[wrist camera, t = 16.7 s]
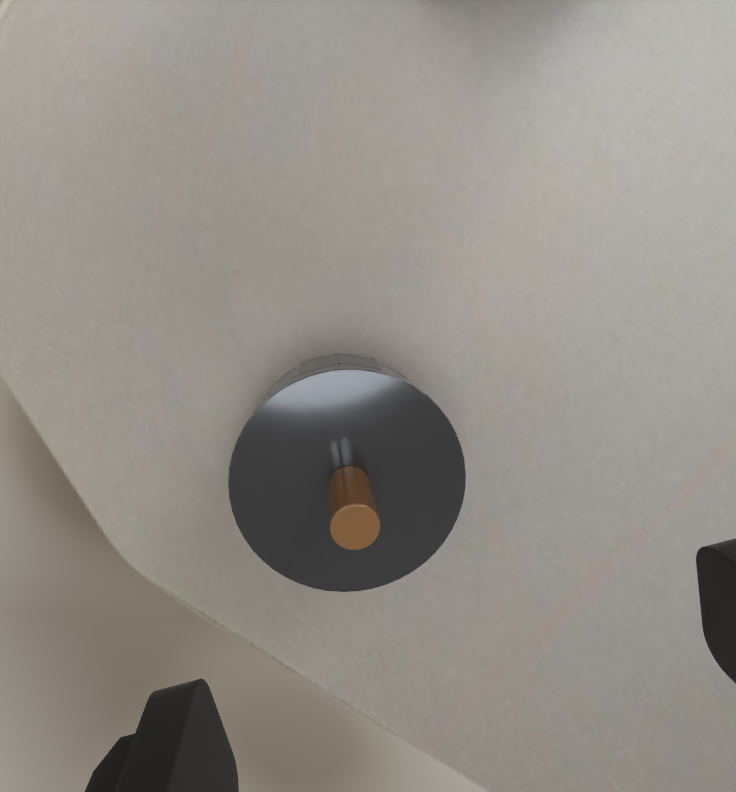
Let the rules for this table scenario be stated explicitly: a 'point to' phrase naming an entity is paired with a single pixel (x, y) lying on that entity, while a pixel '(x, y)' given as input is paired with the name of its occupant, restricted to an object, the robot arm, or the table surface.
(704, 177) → the table surface
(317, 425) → the lid
